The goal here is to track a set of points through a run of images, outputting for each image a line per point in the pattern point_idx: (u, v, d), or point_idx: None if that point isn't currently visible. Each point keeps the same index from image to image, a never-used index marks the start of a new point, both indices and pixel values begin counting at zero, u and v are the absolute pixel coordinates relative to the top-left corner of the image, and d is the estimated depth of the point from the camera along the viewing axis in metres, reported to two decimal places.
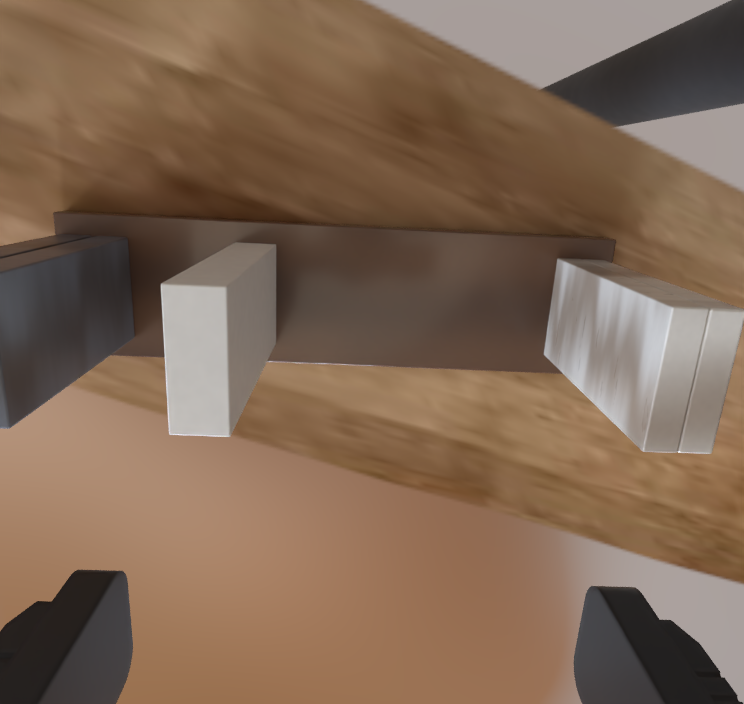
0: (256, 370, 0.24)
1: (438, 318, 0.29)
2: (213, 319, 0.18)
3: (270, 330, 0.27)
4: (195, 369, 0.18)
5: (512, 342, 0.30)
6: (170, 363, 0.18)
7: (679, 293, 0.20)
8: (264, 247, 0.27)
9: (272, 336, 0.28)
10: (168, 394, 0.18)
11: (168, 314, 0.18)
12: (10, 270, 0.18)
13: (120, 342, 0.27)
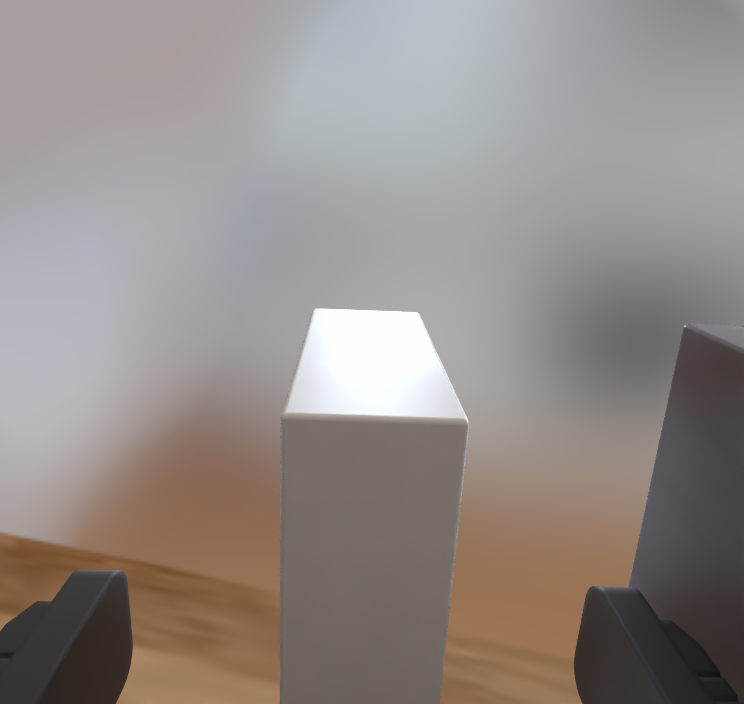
0: None
1: None
2: (326, 381, 0.07)
3: None
4: (372, 344, 0.09)
5: None
6: (424, 349, 0.09)
7: None
8: None
9: None
10: (424, 331, 0.10)
11: (438, 387, 0.07)
12: None
13: None
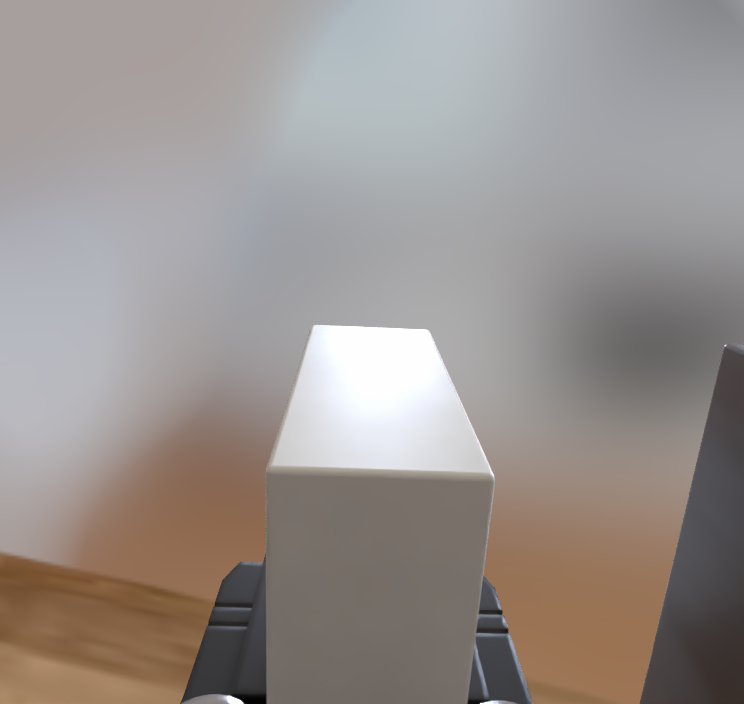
0: None
1: None
2: (322, 420, 0.06)
3: None
4: (377, 370, 0.08)
5: None
6: (437, 377, 0.07)
7: None
8: None
9: None
10: (436, 353, 0.08)
11: (455, 428, 0.06)
12: None
13: None
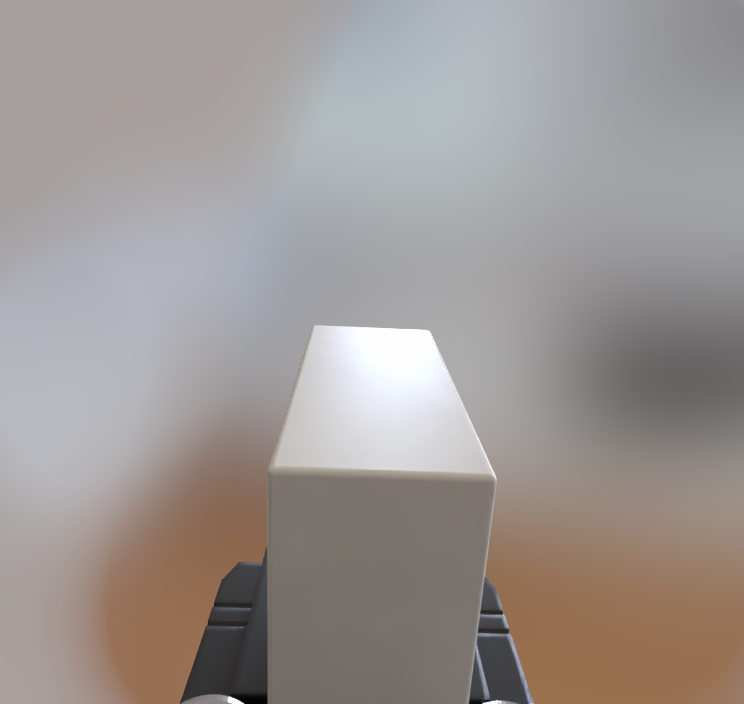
0: None
1: None
2: (324, 421, 0.06)
3: None
4: (378, 371, 0.08)
5: None
6: (437, 377, 0.07)
7: None
8: None
9: None
10: (437, 354, 0.08)
11: (457, 429, 0.06)
12: None
13: None
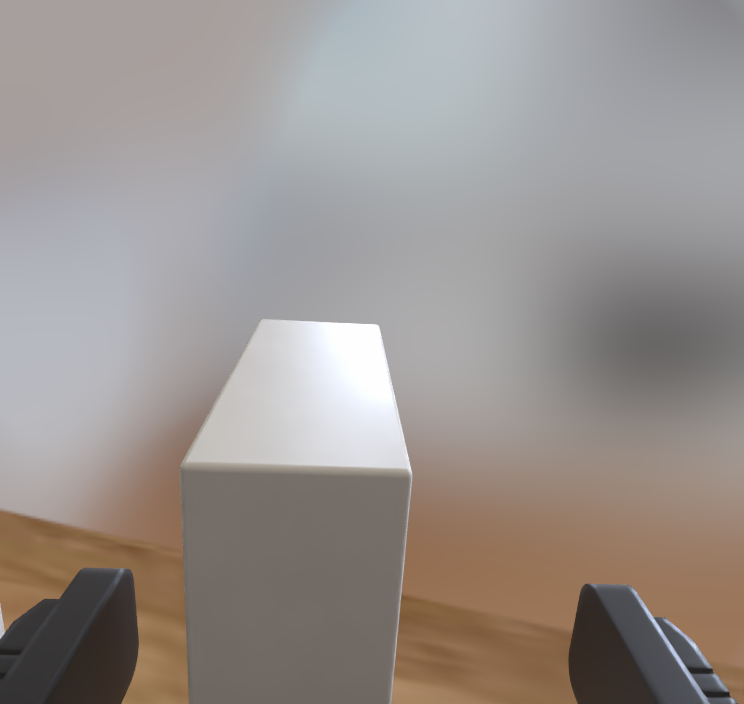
0: None
1: None
2: (248, 416, 0.06)
3: None
4: (316, 365, 0.08)
5: None
6: (375, 373, 0.07)
7: None
8: None
9: None
10: (380, 349, 0.08)
11: (382, 424, 0.06)
12: None
13: None
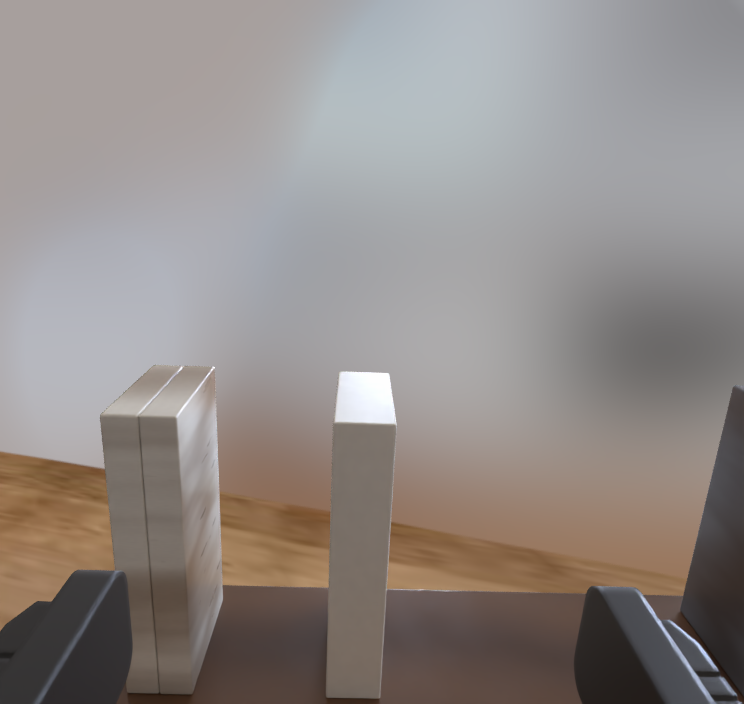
0: None
1: None
2: (347, 410, 0.19)
3: None
4: (365, 392, 0.21)
5: (258, 610, 0.25)
6: (387, 395, 0.21)
7: (132, 485, 0.19)
8: (336, 666, 0.21)
9: None
10: (389, 385, 0.22)
11: (388, 412, 0.19)
12: None
13: (690, 578, 0.26)
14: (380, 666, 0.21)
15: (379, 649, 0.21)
